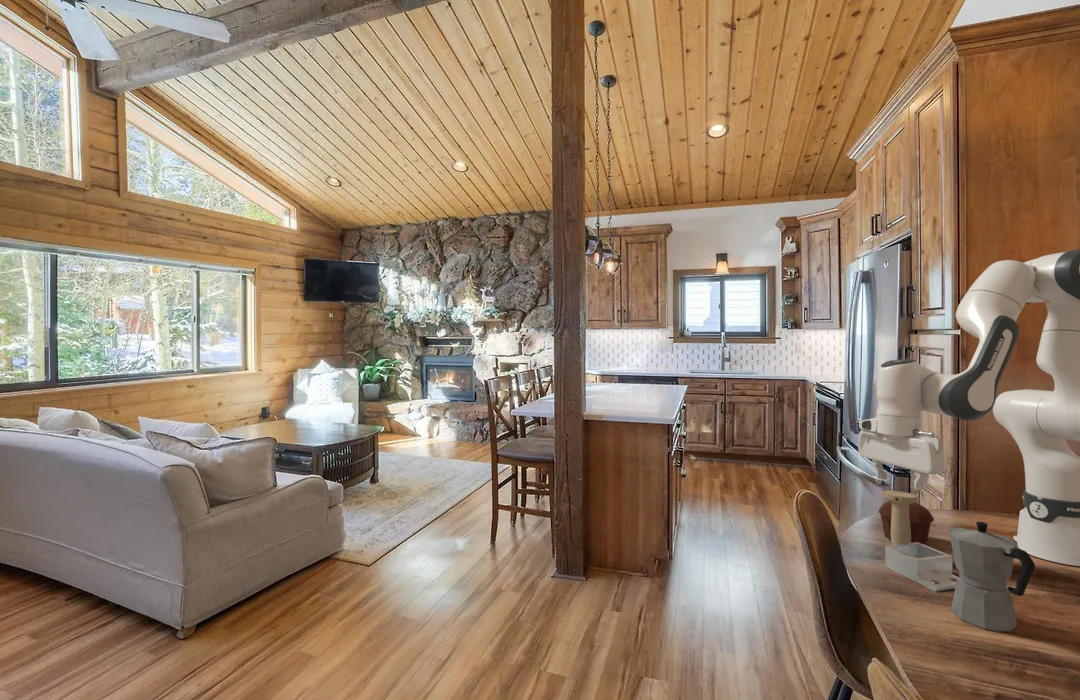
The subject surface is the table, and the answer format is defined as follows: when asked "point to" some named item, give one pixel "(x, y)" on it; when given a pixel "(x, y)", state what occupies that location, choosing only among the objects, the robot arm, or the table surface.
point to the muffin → (918, 521)
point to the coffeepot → (987, 577)
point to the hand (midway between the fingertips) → (898, 484)
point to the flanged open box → (921, 565)
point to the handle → (900, 515)
